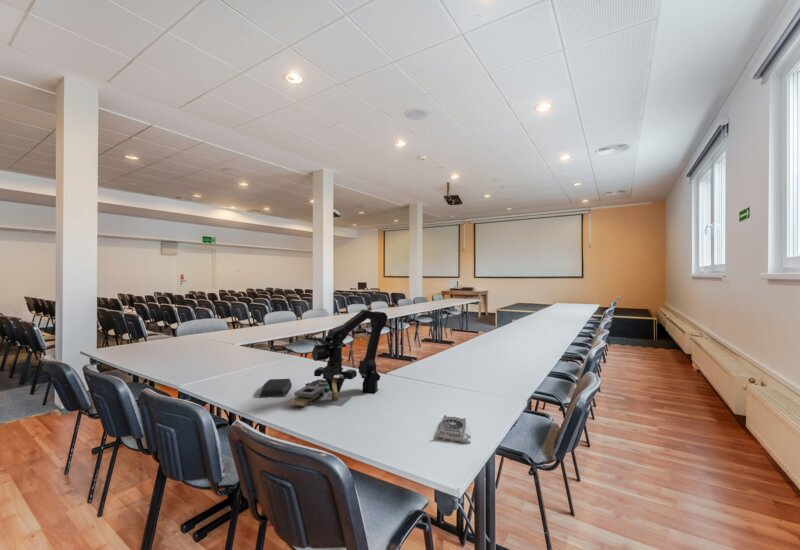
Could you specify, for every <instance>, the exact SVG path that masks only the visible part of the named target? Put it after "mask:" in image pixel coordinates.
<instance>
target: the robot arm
mask: <svg viewBox="0 0 800 550" xmlns="http://www.w3.org/2000/svg"><path fill="white" fill-rule="evenodd" d="M388 317H389V316H388V315H387V313H386V312H385V311H384V312H382V311H371V310H368V309H362V310H360V311H359V312H358V313H357V314H355V315H354V316H353V317H351V318H350V319H348V320H347V321H345V322H344V323H343V324H341V325H339V326H335V327H333V328H331V329H330V330H329V331H327V334H326V337H325V338H324V340H323V342H322V344H321V343H320V344H314V347H313V348H312V351H311V357H312V359H313V361H314V362H317V361H323V360H327V363H326V366H320V367H318V368H316V369H315V370H314V371H313V376H314V377H321V376H322V380H326V381H327V382H328V385H329V388H330V390H331V391H330V392H331V393H332V378H333V377H336V376H338V377H339V378H338V379H337V381H338V393H340V392H341V389H342V387H343V384H344V382H345V381H346V380H353V379H354V378H356V377H357V374H358V373H359V375H360V377H361V378H362V379H363V382H362V392H361V393H362V394H369V395H371V394H372V395H375V394H376V393H378V391H379V390H380V389H379V387H378V384H379V383H378V382H379V381H380V379H381V375H380V374H379V373H378V372H377V363H376V356H377V351H378V347H379V342H380V339H381V338H380V337H381V334H382V330H384V327H385V326H386V324H387V321H388ZM367 319H368V320H369V321H370V322H369V323H370V327H371V329H370V334H369V338H368V343H367V348H366V351H365V357H364V358H363V359H362V360H361V359H360V360H359V365H358V368H357V369H358V372H357V370H356V369H346V370H345V371H344V367H343V364H342V363H343V361H344V359H343V348H346V347H347V344H346V343H345V342H344V340H345V339H346V338H347V337H348V335H349V333H350V332H352V331H353V330H354V329H356V328H357V327H358V326H359V325H361V324H362V323H364V322H365V321H366V320H367Z"/></svg>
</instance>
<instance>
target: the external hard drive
mask: <svg viewBox="0 0 800 550" xmlns="http://www.w3.org/2000/svg"><path fill="white" fill-rule="evenodd" d="M292 386H293V384H292V382H291V379H290V378H270V379H267V381H266V382H264V384H263V385H262V387H261V389H260V392H259V395H258V399H266V398H267V399H269V398H268V397H271V398H285V397H286V396H287V395H288V394H289V392H290V391H289V390H291V389H292Z"/></svg>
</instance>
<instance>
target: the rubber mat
mask: <svg viewBox="0 0 800 550" xmlns="http://www.w3.org/2000/svg"><path fill="white" fill-rule="evenodd" d="M351 399H353V396H348V395H339V400H338V401H332V394H328V395H326V396H324V398H323V399H321V400H320V401H318V402H317V403H316V404H318V405H326V406H338V407H343V406H344V405H345V404H347V402H348V401H350V400H351Z"/></svg>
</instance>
